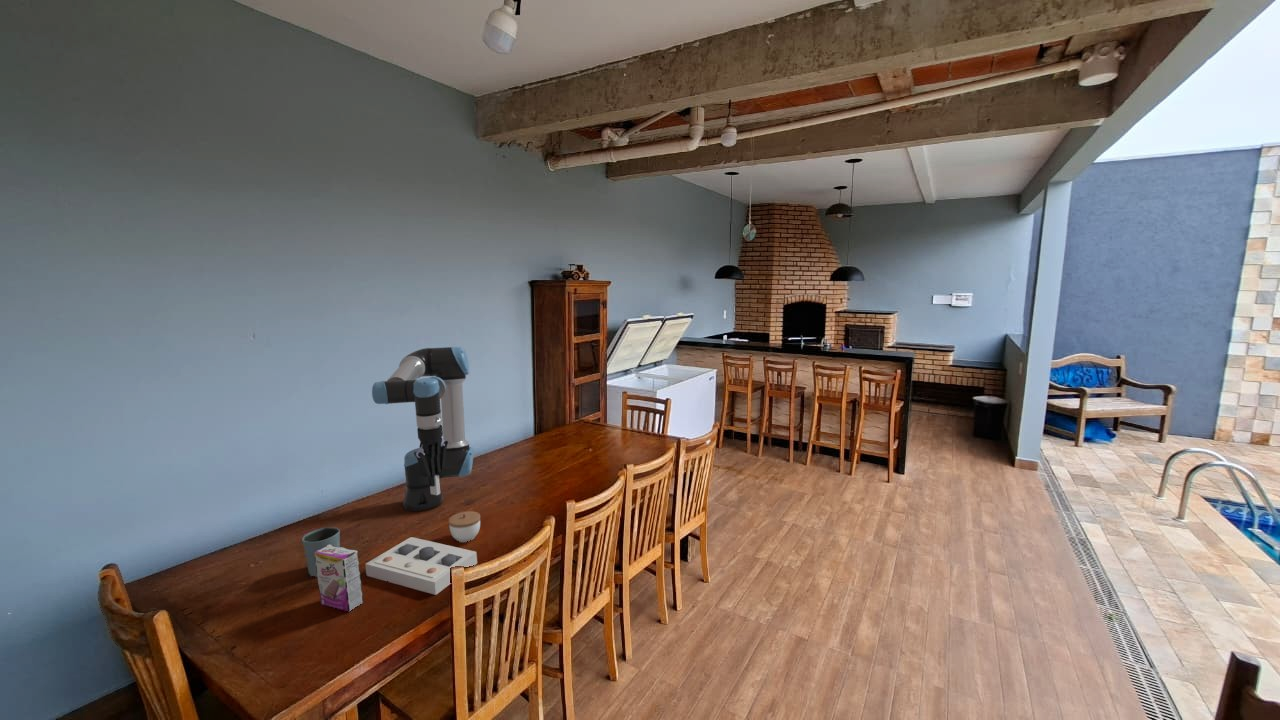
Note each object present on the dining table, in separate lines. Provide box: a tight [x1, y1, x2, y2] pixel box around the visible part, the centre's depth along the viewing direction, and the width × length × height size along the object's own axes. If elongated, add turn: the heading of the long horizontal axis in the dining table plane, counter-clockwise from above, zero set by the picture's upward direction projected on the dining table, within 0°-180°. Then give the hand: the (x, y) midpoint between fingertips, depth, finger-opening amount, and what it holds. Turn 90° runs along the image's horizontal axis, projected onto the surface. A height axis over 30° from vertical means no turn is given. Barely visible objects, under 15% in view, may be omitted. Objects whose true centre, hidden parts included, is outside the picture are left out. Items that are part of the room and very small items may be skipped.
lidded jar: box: [448, 510, 481, 543], centre depth 179 cm, size 11×11×9 cm
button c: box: [441, 555, 456, 567], centre depth 158 cm, size 4×4×3 cm
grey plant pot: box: [301, 526, 341, 578], centre depth 160 cm, size 10×10×12 cm
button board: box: [365, 536, 478, 596], centre depth 160 cm, size 18×28×4 cm, turn 68°
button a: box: [398, 545, 413, 556], centre depth 165 cm, size 4×4×3 cm
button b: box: [419, 547, 434, 561], centre depth 161 cm, size 4×4×3 cm
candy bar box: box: [314, 545, 364, 613], centre depth 141 cm, size 11×5×16 cm, turn 71°
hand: (435, 493), depth 167 cm, fingers closed
